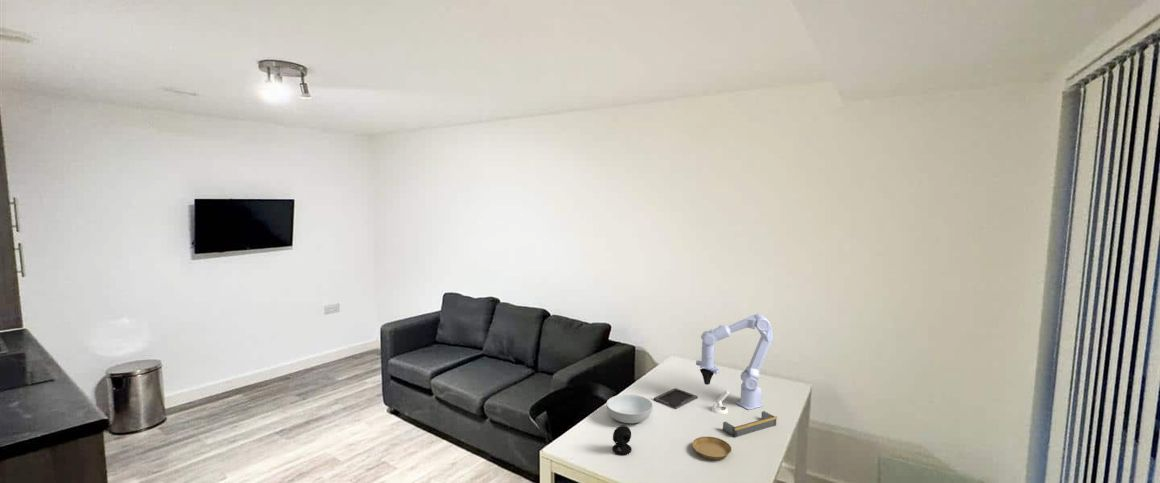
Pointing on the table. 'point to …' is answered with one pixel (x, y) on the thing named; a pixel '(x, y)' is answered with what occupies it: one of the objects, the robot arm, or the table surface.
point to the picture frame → (675, 398)
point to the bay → (751, 425)
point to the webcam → (622, 440)
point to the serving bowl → (629, 408)
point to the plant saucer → (711, 447)
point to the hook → (720, 404)
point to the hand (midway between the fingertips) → (707, 383)
